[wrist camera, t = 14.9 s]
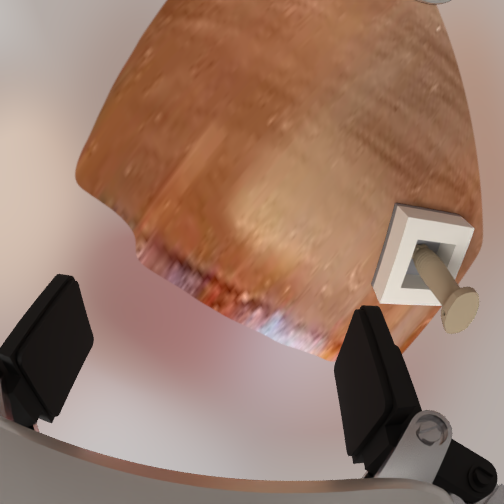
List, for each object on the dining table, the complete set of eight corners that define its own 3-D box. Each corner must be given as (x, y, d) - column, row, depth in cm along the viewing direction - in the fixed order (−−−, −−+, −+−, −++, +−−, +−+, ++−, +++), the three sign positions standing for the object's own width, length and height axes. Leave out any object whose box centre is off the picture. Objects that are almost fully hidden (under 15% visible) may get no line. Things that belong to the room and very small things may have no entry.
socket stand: (395, 202, 42) (408, 217, 38) (458, 214, 42) (474, 228, 38) (371, 284, 49) (379, 303, 45) (431, 287, 49) (442, 305, 45)
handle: (434, 231, 43) (484, 289, 30) (428, 267, 46) (470, 329, 33) (407, 234, 44) (452, 295, 30) (402, 270, 47) (440, 336, 34)
